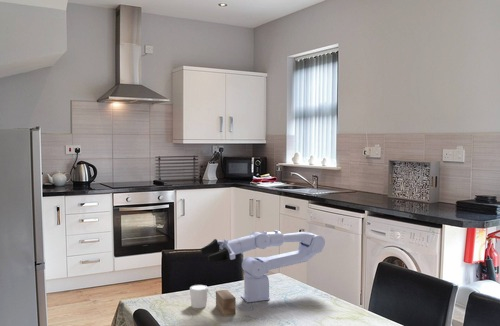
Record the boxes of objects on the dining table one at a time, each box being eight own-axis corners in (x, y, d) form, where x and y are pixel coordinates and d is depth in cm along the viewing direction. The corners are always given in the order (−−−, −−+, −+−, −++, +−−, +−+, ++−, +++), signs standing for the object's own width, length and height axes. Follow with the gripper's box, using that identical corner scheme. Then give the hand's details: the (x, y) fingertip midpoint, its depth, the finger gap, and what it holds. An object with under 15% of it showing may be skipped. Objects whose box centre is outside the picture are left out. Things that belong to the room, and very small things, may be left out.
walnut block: (227, 305, 170) (227, 289, 169) (235, 314, 160) (235, 298, 160) (215, 306, 168) (215, 290, 168) (223, 316, 159) (223, 299, 158)
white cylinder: (205, 309, 165) (204, 290, 165) (187, 308, 166) (187, 289, 166) (210, 303, 172) (210, 285, 171) (193, 301, 173) (193, 283, 173)
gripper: (229, 230, 178) (197, 238, 173) (245, 243, 165) (210, 252, 160) (231, 246, 180) (199, 255, 174) (246, 260, 167) (212, 270, 162)
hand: (204, 255), depth 167 cm, fingers open, 7 cm apart
